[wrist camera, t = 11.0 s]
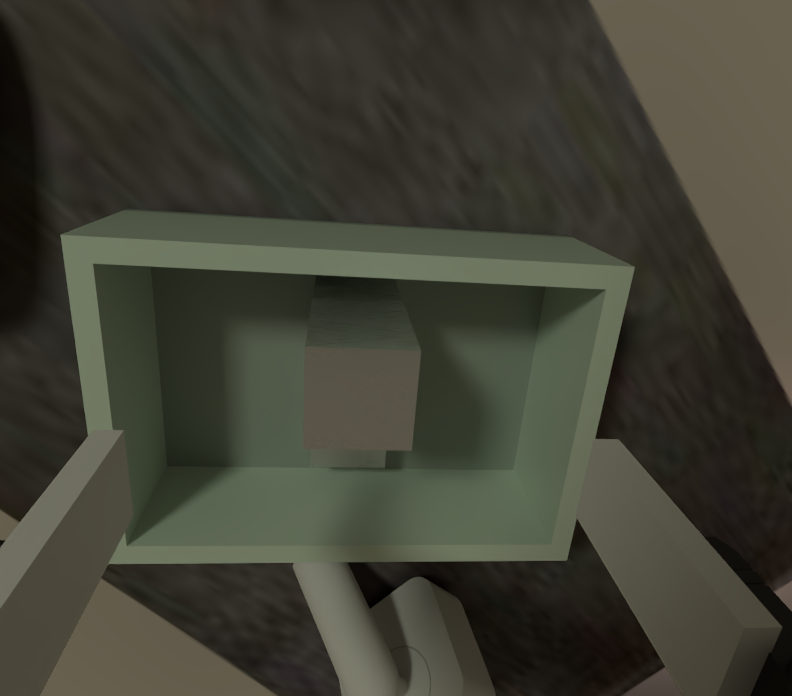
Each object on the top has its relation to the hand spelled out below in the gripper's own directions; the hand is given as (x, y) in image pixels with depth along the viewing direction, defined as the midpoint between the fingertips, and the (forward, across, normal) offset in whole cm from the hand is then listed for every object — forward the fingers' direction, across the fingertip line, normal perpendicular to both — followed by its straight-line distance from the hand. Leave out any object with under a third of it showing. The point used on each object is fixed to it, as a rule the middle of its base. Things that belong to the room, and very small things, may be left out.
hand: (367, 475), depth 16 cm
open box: (+15, 0, -3) cm, 15 cm away
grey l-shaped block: (+14, 0, -3) cm, 15 cm away
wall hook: (+15, +2, -19) cm, 24 cm away
